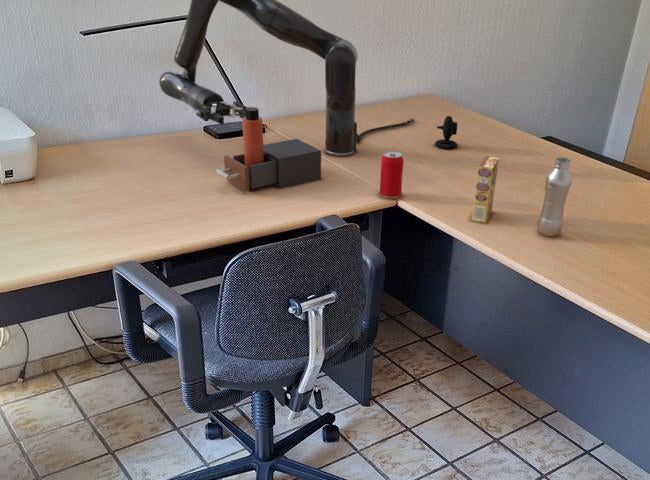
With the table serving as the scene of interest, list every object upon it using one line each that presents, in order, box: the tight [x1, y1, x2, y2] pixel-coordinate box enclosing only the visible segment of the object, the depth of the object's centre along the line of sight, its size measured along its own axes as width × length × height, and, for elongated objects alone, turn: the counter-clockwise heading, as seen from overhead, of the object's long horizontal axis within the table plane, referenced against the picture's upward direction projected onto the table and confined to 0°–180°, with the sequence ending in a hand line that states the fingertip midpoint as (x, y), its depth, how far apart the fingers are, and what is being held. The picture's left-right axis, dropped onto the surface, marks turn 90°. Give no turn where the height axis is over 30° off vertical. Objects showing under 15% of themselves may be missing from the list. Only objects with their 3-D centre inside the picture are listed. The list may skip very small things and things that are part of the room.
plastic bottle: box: [536, 156, 573, 237], centre depth 186 cm, size 6×7×20 cm
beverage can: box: [379, 150, 405, 199], centre depth 204 cm, size 6×6×12 cm
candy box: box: [471, 155, 500, 224], centre depth 194 cm, size 9×4×15 cm, turn 162°
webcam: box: [435, 115, 458, 150], centre depth 244 cm, size 8×8×10 cm
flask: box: [241, 106, 264, 179], centre depth 202 cm, size 5×5×19 cm
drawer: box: [215, 153, 278, 193], centre depth 205 cm, size 18×11×7 cm, turn 130°
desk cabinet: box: [263, 138, 322, 189], centre depth 212 cm, size 15×13×9 cm
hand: (235, 119), depth 206 cm, fingers open, 8 cm apart
